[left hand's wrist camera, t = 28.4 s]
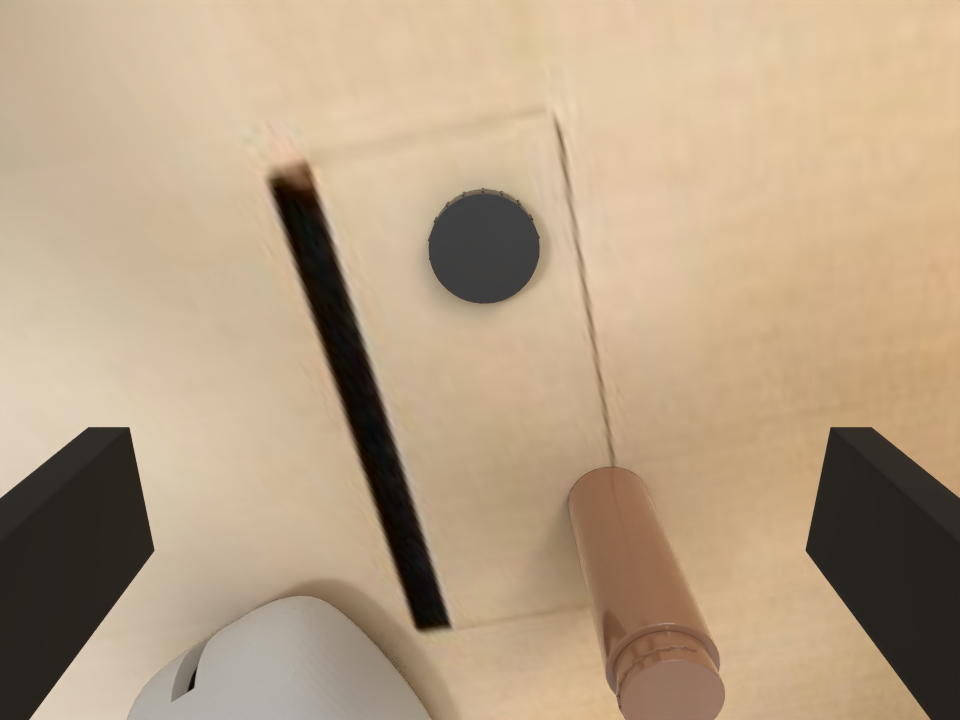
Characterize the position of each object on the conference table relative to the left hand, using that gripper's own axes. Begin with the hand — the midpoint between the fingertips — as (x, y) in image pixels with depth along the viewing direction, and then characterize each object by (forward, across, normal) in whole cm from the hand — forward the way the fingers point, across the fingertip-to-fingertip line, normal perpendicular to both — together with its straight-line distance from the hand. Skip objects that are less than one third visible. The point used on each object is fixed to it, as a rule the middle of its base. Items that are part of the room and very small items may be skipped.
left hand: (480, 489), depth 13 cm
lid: (+24, 0, 0) cm, 25 cm away
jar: (+26, +8, -17) cm, 32 cm away
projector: (+26, -11, -34) cm, 44 cm away
